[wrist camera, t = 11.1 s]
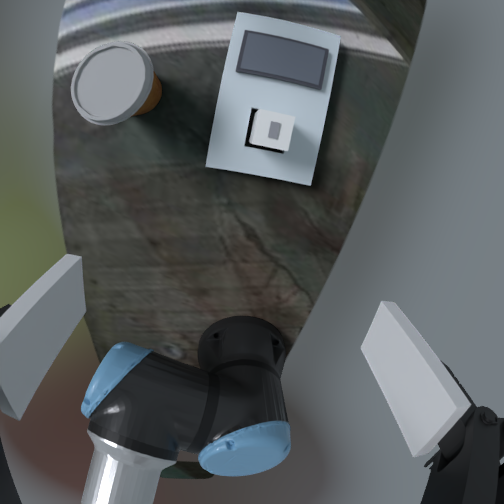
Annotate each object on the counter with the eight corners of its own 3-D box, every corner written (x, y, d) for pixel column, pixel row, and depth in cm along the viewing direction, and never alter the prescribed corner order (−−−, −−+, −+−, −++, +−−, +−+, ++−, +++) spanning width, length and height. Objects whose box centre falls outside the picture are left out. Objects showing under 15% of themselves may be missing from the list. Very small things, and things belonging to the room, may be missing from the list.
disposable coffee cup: (184, 70, 34) (164, 47, 23) (158, 134, 37) (129, 135, 26) (123, 55, 32) (87, 33, 21) (100, 117, 35) (56, 115, 24)
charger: (277, 147, 39) (288, 151, 31) (248, 142, 38) (252, 143, 31) (283, 119, 38) (295, 116, 30) (254, 113, 37) (259, 108, 29)
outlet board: (307, 183, 41) (310, 185, 39) (206, 165, 39) (205, 166, 37) (336, 39, 33) (340, 36, 31) (237, 17, 31) (237, 11, 29)
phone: (319, 90, 34) (321, 89, 33) (235, 71, 33) (235, 70, 32) (327, 50, 32) (329, 49, 31) (244, 31, 31) (244, 29, 30)
